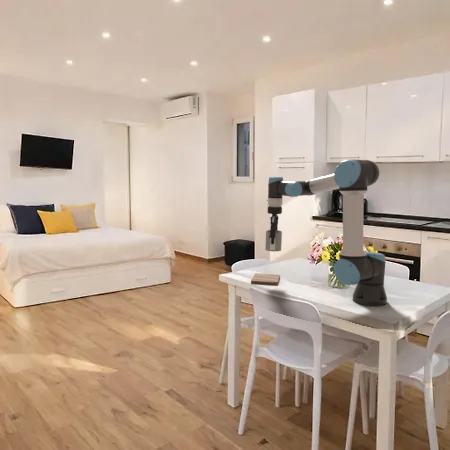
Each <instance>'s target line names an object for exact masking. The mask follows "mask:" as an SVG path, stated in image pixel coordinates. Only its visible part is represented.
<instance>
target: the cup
mask: <svg viewBox="0 0 450 450" xmlns="http://www.w3.org/2000/svg"><path fill="white" fill-rule="evenodd" d="M282 233H283V232H282V231H281V230H276V233H275V238H276V239H275V250H270V238H269V236H270V229H269V230H266V231H265V251H267V252H281V251H282V242H283V241H282V236H283V234H282Z"/></svg>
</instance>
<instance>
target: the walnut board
mask: <svg viewBox="0 0 450 450" xmlns="http://www.w3.org/2000/svg"><path fill="white" fill-rule="evenodd" d="M280 278H281V274H275V273H274V274H272V273H271V274H270V273H258V272H257V273H256V272H255V273H254V275H253V276H252V278H251V280H250V284H254V285H257V284H259V285H271V286H272V285H273V286H278V285H279V283H280Z"/></svg>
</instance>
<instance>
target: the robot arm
mask: <svg viewBox="0 0 450 450" xmlns="http://www.w3.org/2000/svg"><path fill="white" fill-rule="evenodd" d="M283 177H284V176H269V178H268V184H267V186H268V187H267V189H268V191H267V192H268V194H267V199H266V201H267V205H268V206H267V214H269V215H270V214H271V216H270V217H269V219H270V220H269V221H270V222H269V223H270V229H269V230H270V236H269V238H270V250H275V239H276V238H275V233H276V230H278V229H279V226H278V224H279V215H281V214H282V213H283V207H282V206H283V196H285V197H291V198H295V197H296V198H297V197H302V196H308V197H309V196H315V195H317V194H319V193H324V192H325V193H326V192H329V191H335V190H339V193H341V195H342V249H341V250H340V252H339V254H338V255H339V256H338V258H339V259H338V260H337V261H336V262H335V263H334V265H333V272H334V276H335V278H336V279H338V282H339V283H341V284H342V285H346V286H353V285H355V289H354V290H353V293H352V301H353V302H355V303H357V304H358V305H363V304H364V306H368V305H370V306H371V307H380V305H382V306H384V304H385V305H387V304H386V303H388V297H387V292H386V289H385V273H386V271H385V270H386V256H385V254H383V253H380V252H375V251H367V250H364V199H365V198H364V195H365V194H366V193H367V192H368V187H370V186H372V185H374V184H376V182H377V181H378V179H379V178H380V168H379V166H378V165H377V164H376V163H375V162H374V161H373V160H368V159H345V160H342V161H341V162H339V164H337V166H336V167H335V169H334V173H332V174H328V175H326V176H325V175H324V176H320V177H317V178H312V179H309V180H302V181H301V180H297V181H296V180H295V181H293V180H291V181H288V180H287V181H285V180H284V178H283ZM278 231H279V230H278Z"/></svg>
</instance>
